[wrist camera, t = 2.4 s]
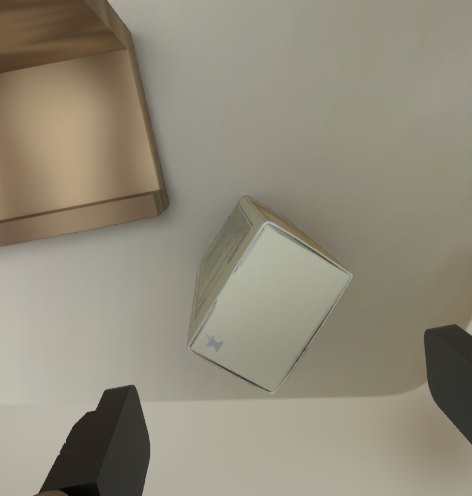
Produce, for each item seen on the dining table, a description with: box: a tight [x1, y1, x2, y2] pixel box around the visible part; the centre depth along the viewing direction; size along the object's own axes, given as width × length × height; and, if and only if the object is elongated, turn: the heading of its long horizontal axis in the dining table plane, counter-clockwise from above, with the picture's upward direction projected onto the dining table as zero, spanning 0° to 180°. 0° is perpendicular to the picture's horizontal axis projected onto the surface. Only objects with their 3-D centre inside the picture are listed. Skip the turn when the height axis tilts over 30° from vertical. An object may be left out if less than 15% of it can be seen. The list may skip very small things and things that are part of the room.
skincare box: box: [187, 196, 353, 394], centre depth 23 cm, size 6×4×12 cm
